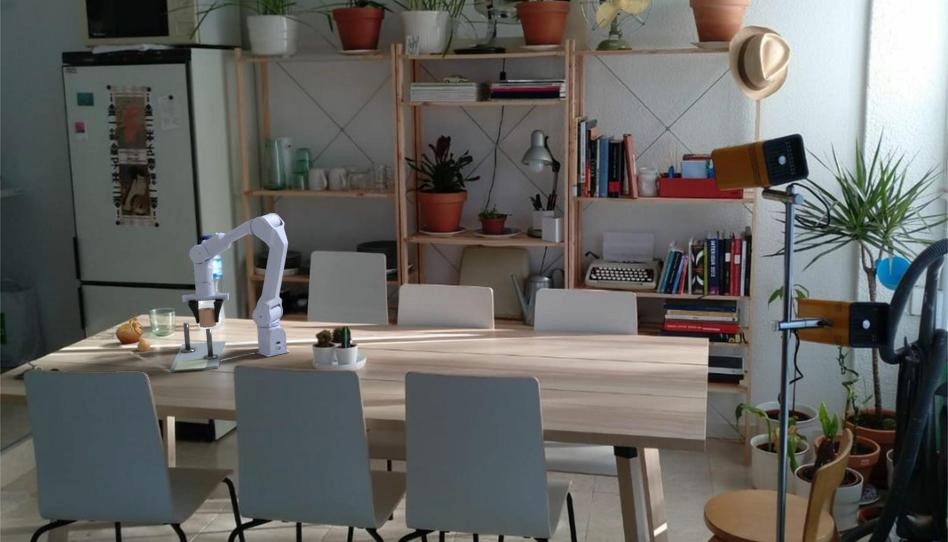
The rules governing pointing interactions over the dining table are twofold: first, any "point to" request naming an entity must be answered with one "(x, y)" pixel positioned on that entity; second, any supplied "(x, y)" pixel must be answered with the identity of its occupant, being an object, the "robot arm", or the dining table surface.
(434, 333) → the dining table surface
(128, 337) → the fruit
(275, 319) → the robot arm
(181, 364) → the pad
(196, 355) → the board
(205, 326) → the octagonal hollow tube
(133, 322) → the figurine
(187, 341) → the posts
